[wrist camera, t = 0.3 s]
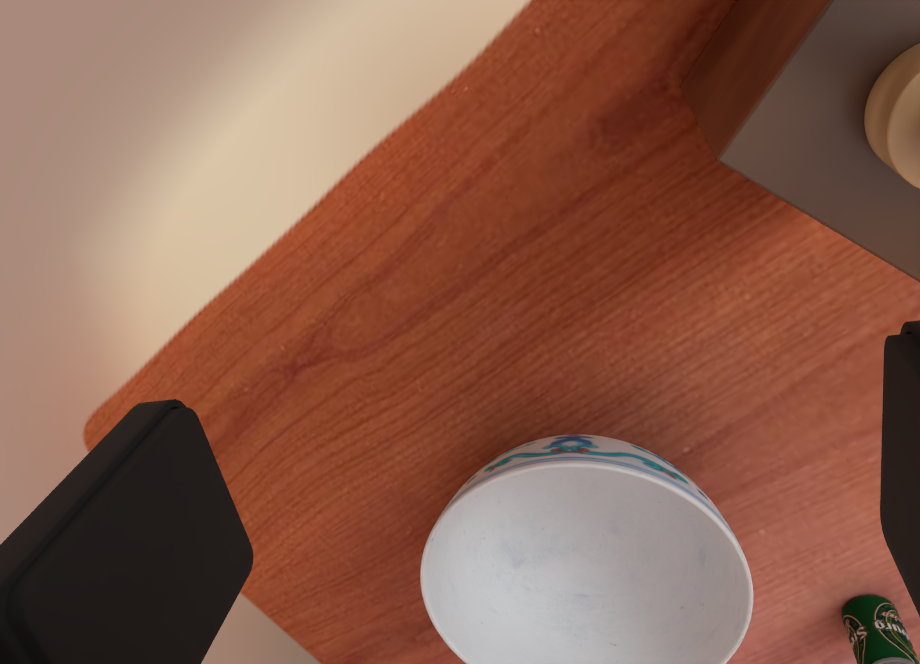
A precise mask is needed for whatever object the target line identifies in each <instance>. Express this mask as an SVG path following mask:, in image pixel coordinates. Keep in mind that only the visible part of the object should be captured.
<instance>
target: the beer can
mask: <svg viewBox="0 0 920 664" xmlns="http://www.w3.org/2000/svg"><path fill="white" fill-rule="evenodd" d="M842 619H843V623H844V626H845V629H846V632H847V635H848V638H849V640H850V643H851V646H852V649H853V652H854V655H855V658H856V660H857V663H858V664H919V662H918V659H917V656H916V653H915V651H914V649H913V646H912V644H911V642H910V639H909V637H908V635H907V633H906V630H905V628H904V626H903V623H902V621H901V619H900V616H899V614H898V612H897V610H896V608H895V606H894V605H893V604H892V603H891V602H890V601H888V600H887V599H885V598H882V597H878V596H870V595H866V596H861V597H857V598H855V599H853V600H851V601H850V602H849V603H848V604H847V605H845V607H844V609H843V611H842Z"/></svg>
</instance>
